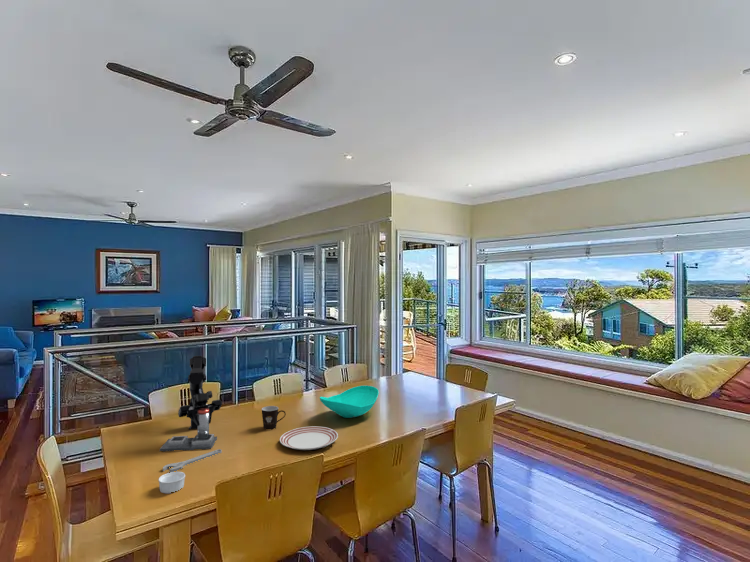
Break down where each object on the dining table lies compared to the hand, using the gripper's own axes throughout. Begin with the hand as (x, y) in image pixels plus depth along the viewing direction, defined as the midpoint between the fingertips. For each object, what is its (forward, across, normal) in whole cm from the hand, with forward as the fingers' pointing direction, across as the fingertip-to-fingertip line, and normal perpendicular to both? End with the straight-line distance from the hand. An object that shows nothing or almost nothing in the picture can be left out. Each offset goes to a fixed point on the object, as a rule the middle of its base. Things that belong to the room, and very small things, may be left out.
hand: (204, 424), depth 191 cm
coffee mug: (+6, +35, +8) cm, 36 cm away
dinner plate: (+26, +40, -12) cm, 50 cm away
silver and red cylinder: (+4, 0, +6) cm, 7 cm away
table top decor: (+12, +78, +2) cm, 79 cm away
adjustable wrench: (+18, -8, -4) cm, 21 cm away
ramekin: (+31, -21, -17) cm, 41 cm away
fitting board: (+4, -5, +10) cm, 12 cm away
